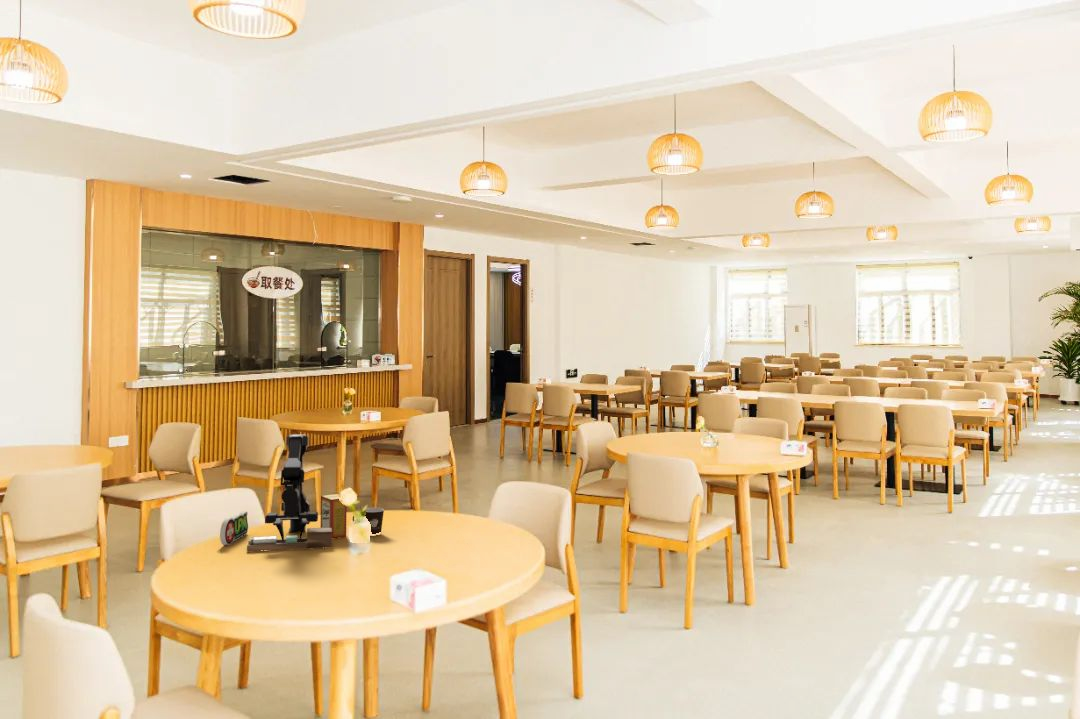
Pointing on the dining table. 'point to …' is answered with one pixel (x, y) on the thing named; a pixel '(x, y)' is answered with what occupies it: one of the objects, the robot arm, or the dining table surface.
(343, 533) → the baking soda box
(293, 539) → the teal cube block
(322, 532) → the housing
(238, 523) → the sign
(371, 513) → the coffee mug
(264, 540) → the grey rectangular block
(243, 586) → the dining table surface
